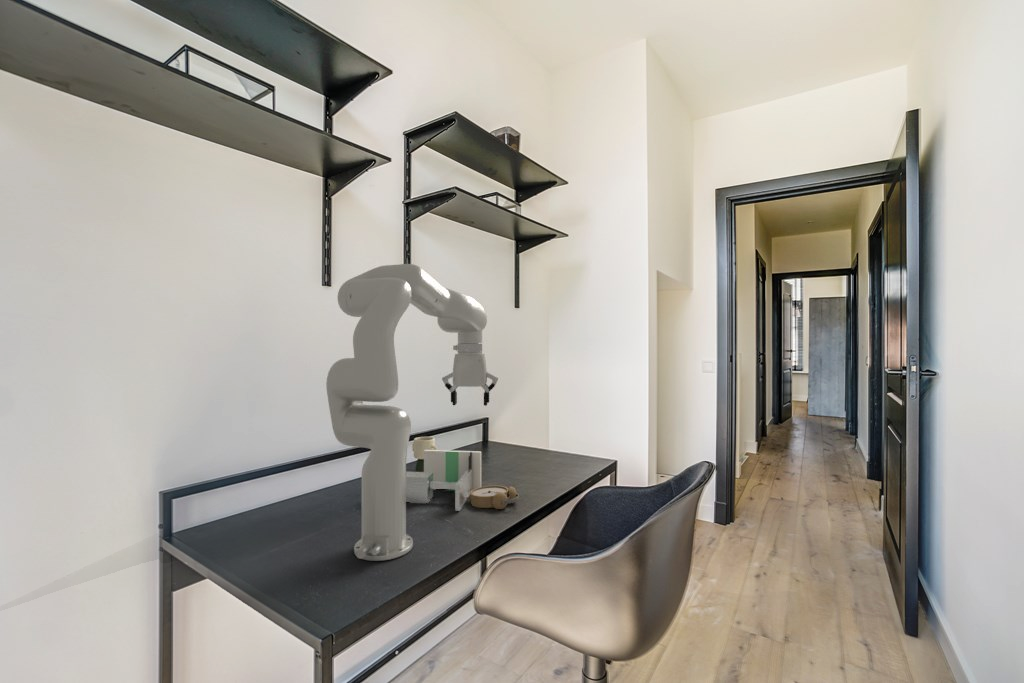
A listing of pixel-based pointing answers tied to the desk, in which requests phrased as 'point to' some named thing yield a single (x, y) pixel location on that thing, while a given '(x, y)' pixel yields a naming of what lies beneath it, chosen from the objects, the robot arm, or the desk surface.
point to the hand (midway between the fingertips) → (470, 404)
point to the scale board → (452, 465)
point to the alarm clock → (493, 496)
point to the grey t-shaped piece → (457, 486)
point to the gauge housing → (418, 487)
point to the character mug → (422, 450)
